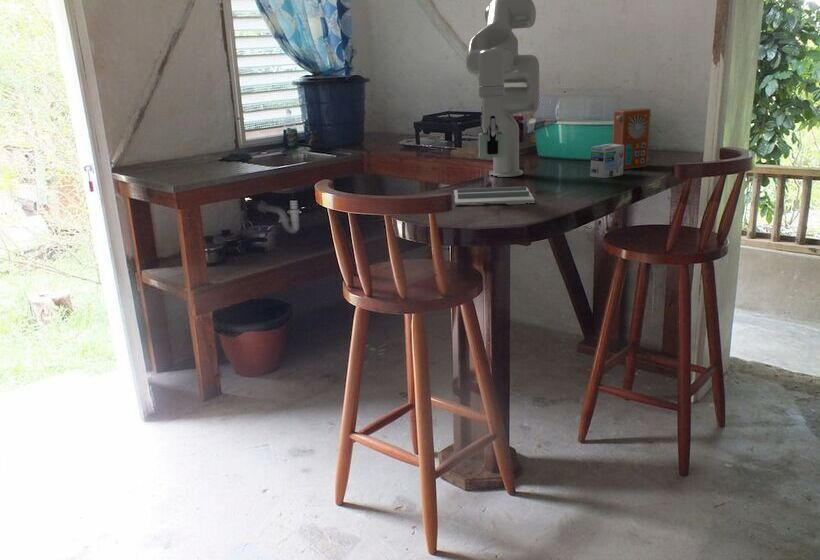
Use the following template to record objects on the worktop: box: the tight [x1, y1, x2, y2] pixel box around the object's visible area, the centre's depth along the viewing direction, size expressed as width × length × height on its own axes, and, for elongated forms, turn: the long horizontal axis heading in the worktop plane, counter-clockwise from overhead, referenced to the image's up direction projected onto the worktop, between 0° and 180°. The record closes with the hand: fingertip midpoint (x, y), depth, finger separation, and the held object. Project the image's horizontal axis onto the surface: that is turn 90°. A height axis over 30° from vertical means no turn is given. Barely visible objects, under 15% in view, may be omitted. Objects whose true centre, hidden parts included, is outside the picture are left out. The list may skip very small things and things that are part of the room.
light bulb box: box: [589, 143, 624, 179], centre depth 246 cm, size 11×7×11 cm, turn 126°
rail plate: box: [453, 185, 536, 205], centre depth 219 cm, size 20×24×3 cm
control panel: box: [612, 107, 652, 170], centre depth 259 cm, size 21×7×15 cm
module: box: [478, 131, 506, 159], centre depth 214 cm, size 5×8×7 cm, turn 87°
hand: (492, 152), depth 215 cm, fingers closed on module, 5 cm apart
